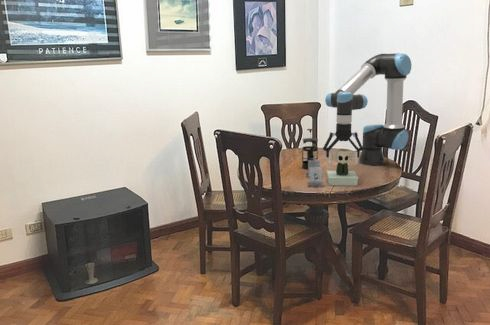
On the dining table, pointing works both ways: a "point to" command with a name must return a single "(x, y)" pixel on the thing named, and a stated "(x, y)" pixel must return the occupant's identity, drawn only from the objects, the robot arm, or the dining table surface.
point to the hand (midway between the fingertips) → (342, 163)
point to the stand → (342, 178)
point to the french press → (309, 150)
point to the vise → (314, 174)
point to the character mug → (342, 160)
